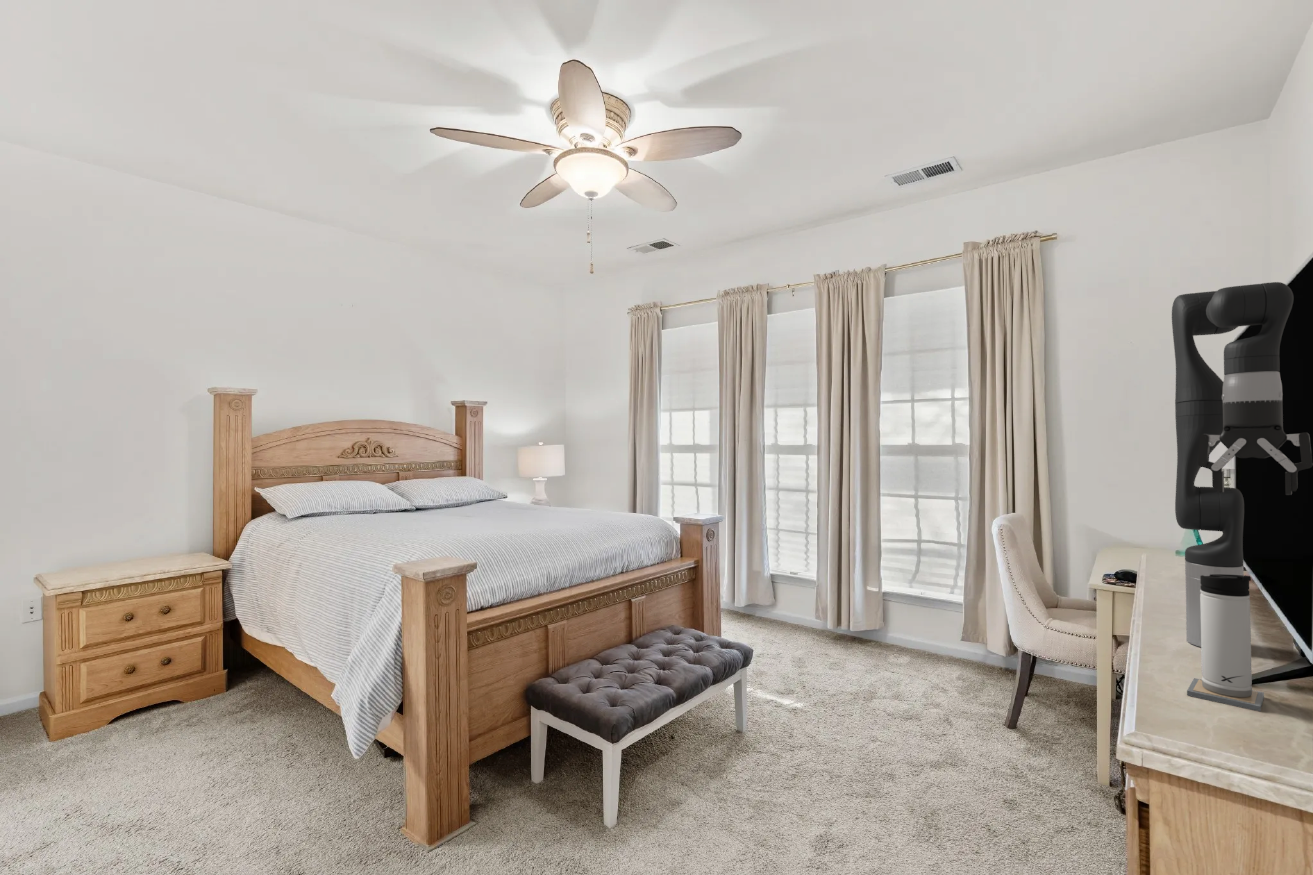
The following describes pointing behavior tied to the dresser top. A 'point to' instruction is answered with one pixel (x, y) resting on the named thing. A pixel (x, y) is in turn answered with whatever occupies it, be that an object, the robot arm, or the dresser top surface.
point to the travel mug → (1226, 634)
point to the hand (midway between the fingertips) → (1253, 493)
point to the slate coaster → (1248, 702)
